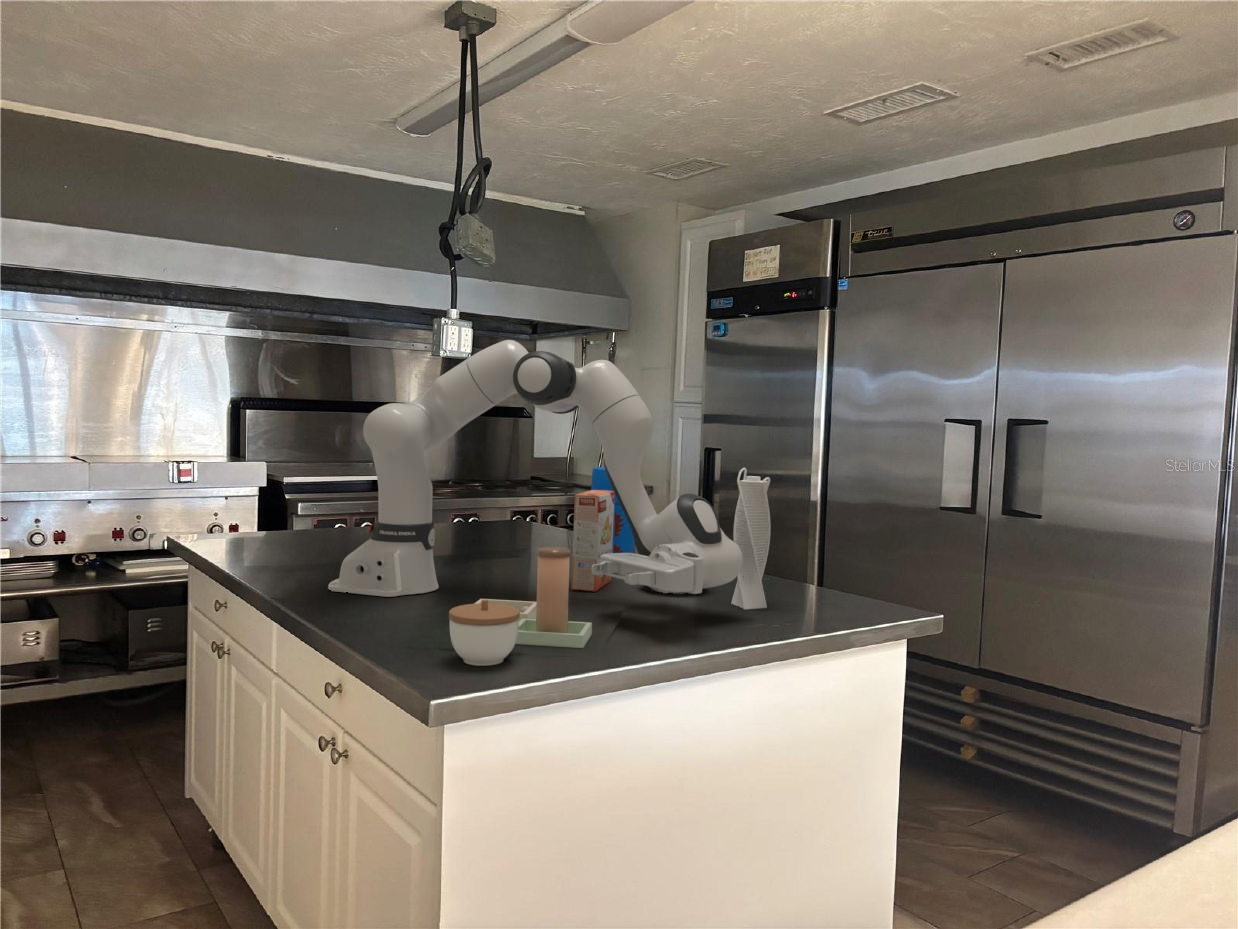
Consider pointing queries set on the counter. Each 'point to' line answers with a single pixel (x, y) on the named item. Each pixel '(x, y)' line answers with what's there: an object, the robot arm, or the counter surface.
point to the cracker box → (591, 537)
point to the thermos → (615, 515)
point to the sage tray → (554, 635)
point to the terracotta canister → (552, 589)
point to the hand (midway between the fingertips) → (610, 574)
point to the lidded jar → (483, 632)
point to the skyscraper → (751, 540)
